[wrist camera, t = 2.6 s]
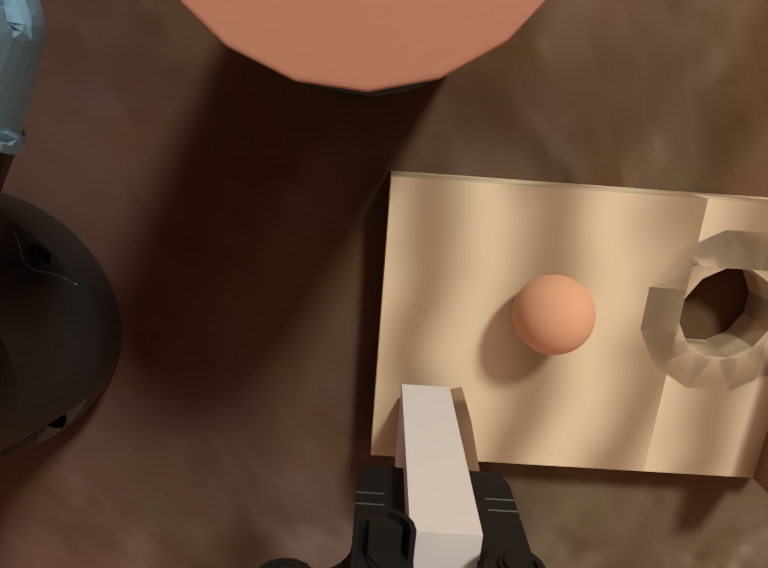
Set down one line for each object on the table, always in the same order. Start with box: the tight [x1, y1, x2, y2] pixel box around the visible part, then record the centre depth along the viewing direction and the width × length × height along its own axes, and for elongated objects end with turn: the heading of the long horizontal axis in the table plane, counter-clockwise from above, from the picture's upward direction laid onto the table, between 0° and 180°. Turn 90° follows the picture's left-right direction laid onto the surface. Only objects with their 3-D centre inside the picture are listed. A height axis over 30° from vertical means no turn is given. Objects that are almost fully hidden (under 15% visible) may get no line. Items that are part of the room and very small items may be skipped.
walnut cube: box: [398, 387, 480, 471], centre depth 31 cm, size 4×4×4 cm
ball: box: [512, 275, 596, 355], centre depth 29 cm, size 4×4×4 cm
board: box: [371, 171, 768, 493], centre depth 32 cm, size 25×16×6 cm, turn 86°
